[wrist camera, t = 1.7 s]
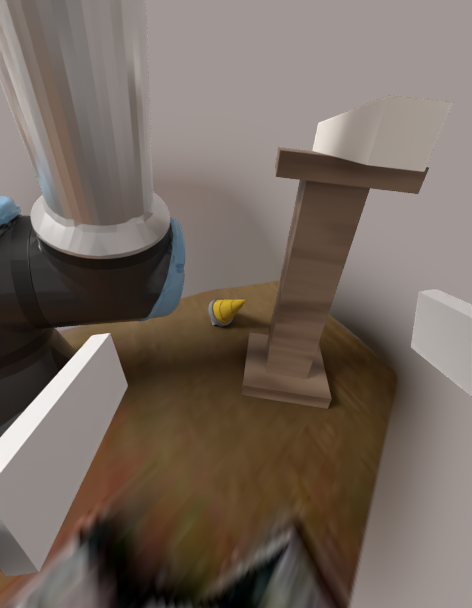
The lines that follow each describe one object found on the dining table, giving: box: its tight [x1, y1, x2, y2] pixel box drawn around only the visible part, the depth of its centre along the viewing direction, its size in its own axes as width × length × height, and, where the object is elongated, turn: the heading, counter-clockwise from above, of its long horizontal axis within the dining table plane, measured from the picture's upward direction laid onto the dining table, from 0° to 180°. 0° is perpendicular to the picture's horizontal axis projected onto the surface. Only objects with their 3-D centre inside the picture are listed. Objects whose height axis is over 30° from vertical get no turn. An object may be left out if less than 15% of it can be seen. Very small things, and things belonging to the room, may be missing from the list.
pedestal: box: [241, 147, 429, 409], centre depth 35 cm, size 12×12×30 cm
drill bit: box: [208, 298, 247, 327], centre depth 50 cm, size 5×5×10 cm
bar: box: [313, 95, 453, 172], centre depth 24 cm, size 24×3×3 cm, turn 173°
